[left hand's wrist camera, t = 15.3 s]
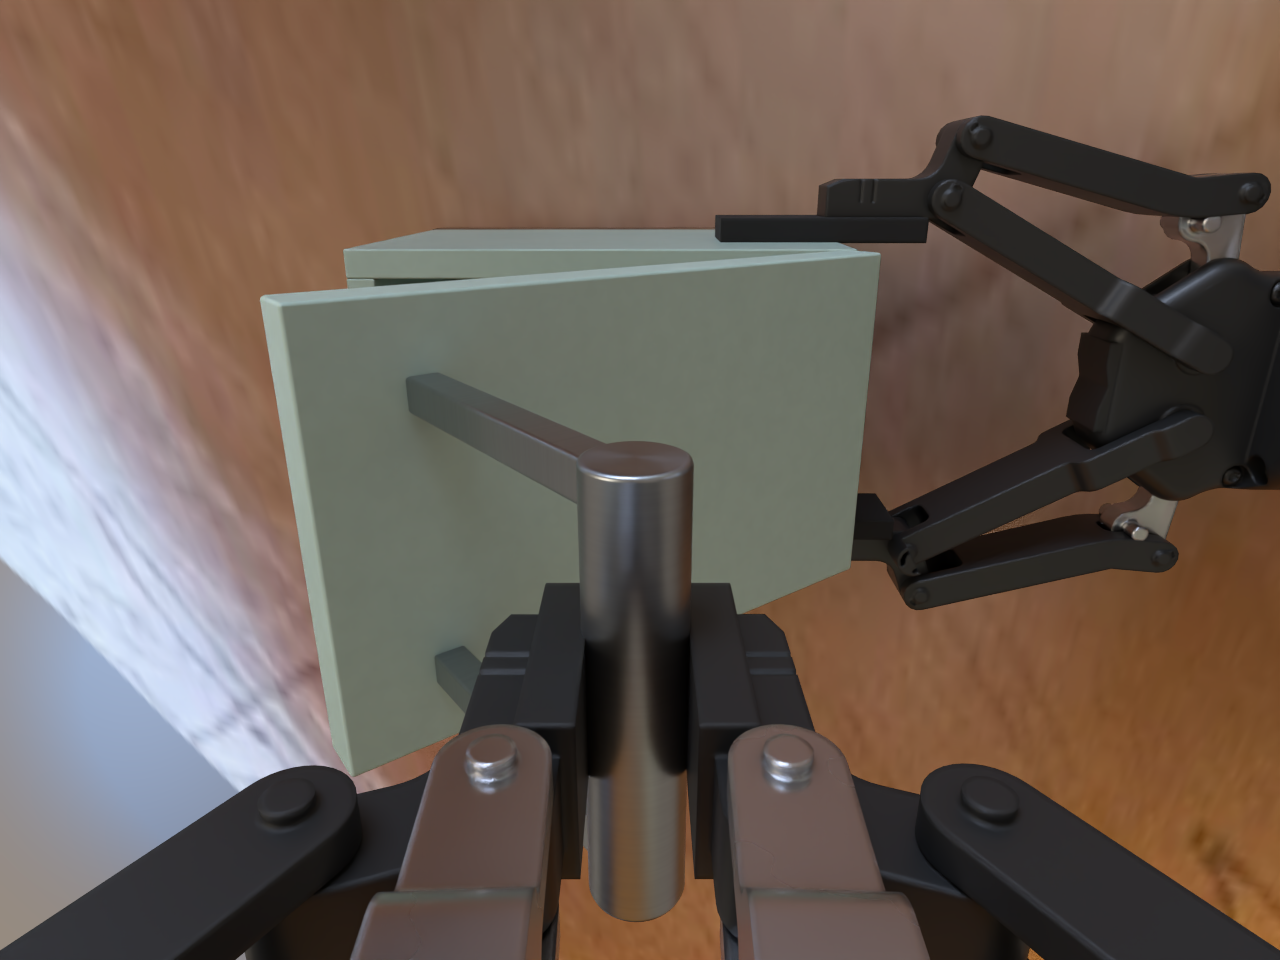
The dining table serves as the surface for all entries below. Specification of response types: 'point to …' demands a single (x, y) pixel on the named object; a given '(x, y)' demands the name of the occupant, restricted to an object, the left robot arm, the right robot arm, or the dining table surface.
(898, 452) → the dining table surface
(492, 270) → the chest
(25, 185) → the dining table surface
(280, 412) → the lid
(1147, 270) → the dining table surface
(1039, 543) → the right robot arm
